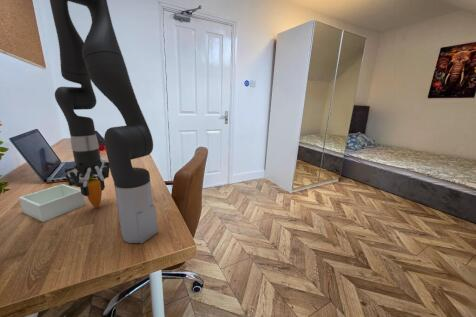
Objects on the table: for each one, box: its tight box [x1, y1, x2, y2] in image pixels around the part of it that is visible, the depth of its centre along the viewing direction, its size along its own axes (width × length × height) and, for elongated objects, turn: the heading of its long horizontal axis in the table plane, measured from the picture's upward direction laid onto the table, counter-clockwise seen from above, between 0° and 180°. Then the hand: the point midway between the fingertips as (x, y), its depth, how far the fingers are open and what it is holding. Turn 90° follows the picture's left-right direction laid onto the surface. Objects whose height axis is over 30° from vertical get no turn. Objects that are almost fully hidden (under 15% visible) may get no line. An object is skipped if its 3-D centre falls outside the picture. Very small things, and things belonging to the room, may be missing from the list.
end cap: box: [64, 165, 85, 187], centre depth 102 cm, size 10×7×7 cm
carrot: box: [82, 174, 103, 209], centre depth 77 cm, size 5×5×15 cm
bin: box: [18, 183, 86, 223], centre depth 77 cm, size 13×13×6 cm
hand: (94, 192), depth 77 cm, fingers closed on carrot, 5 cm apart
